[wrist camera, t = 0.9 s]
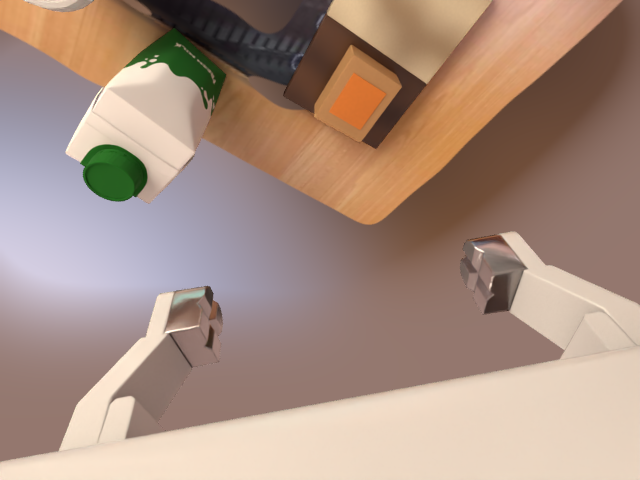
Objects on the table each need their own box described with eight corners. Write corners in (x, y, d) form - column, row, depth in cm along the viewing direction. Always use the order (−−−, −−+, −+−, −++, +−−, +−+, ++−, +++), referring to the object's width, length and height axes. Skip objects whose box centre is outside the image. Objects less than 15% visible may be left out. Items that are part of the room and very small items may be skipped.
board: (384, -97, 33) (386, -97, 32) (490, -4, 38) (494, -1, 38) (283, 92, 45) (283, 96, 44) (374, 144, 50) (376, 149, 49)
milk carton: (131, 73, 43) (40, 166, 29) (172, 12, 39) (89, 85, 24) (195, 124, 48) (144, 226, 33) (238, 74, 43) (201, 166, 29)
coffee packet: (351, 43, 40) (353, 54, 38) (397, 75, 43) (402, 87, 40) (314, 105, 45) (314, 118, 42) (357, 130, 47) (360, 144, 45)
